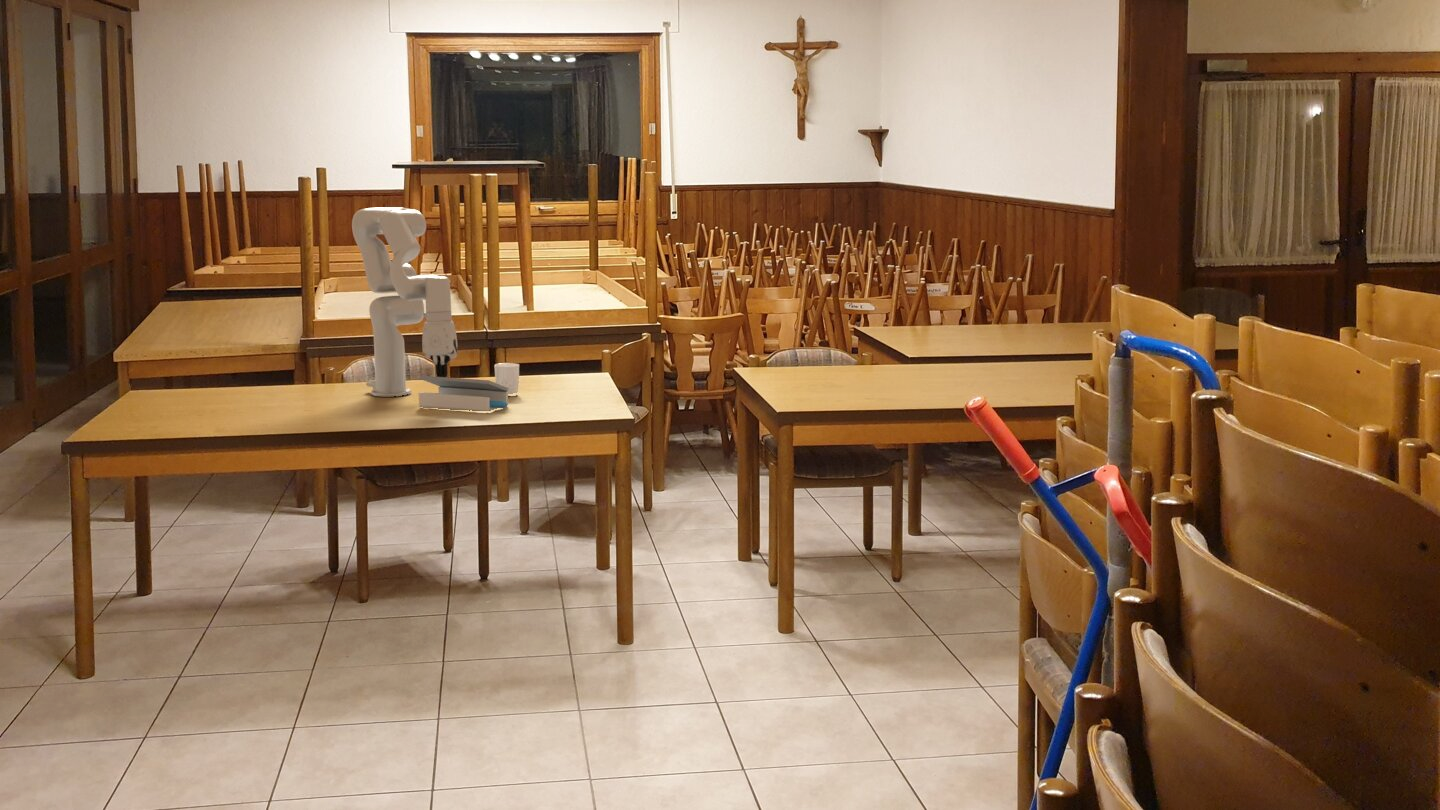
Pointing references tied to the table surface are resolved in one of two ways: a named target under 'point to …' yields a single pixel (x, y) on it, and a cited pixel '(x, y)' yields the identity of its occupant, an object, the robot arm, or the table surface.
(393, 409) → the table surface
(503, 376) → the white cup
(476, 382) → the cover
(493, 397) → the pale long box
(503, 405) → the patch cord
